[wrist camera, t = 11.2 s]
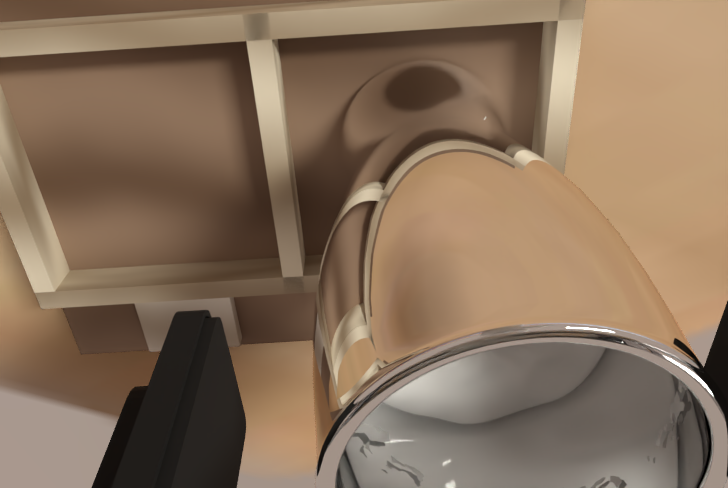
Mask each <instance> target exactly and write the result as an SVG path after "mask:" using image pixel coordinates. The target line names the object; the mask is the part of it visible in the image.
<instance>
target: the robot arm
mask: <svg viewBox="0 0 728 488" xmlns="http://www.w3.org/2000/svg"><path fill="white" fill-rule="evenodd" d="M704 369H705V371H706V372H707V373H708V374H709V375H710V376H711V377H712V378H713V380H714V381H715V382H716V383H717V385H718V386H719V388H720V389H721V391H722V393H723V394H724V396H725V398H726V400H727V402H728V301H727V304H726V307H725V310H724V313H723V315H722V318H721V321H720V324H719V327H718V329H717V332H716V335H715V338H714V341H713V343H712V346H711V349H710V352H709V355H708V358H707V360H706V363H705V366H704ZM245 433H246V419H245V413H244V409H243V405H242V401H241V397H240V393H239V388H238V384H237V380H236V376H235V372H234V368H233V364H232V360H231V356H230V352H229V348H228V344H227V340H226V336H225V332H224V328H223V324H222V320H221V318H220V317H212V316H211V314H210V312H209V310H194V311H178V312H176V313H175V315H174V316H173V319H172V322H171V324H170V327H169V330H168V333H167V336H166V338H165V341H164V344H163V347H162V349H161V352H160V355H159V358H158V360H157V363H156V366H155V369H154V371H153V374H152V377H151V380H150V382H149V385H148V386H140V387H134V388H133V389H132V390H131V391H130V393H129V395H128V397H127V399H126V402H125V404H124V407H123V409H122V412H121V414H120V417H119V419H118V422H117V424H116V427H115V430H114V432H113V435H112V437H111V440H110V442H109V445H108V448H107V450H106V452H105V455H104V457H103V460H102V463H101V465H100V468H99V470H98V473H97V475H96V478H95V480H94V483H93V486H92V488H237V482H238V476H239V470H240V464H241V458H242V452H243V446H244V440H245Z"/></svg>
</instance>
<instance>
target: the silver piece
mask: <svg viewBox="0 0 728 488" xmlns="http://www.w3.org/2000/svg"><path fill="white" fill-rule="evenodd" d="M340 155H341V161H342V164H343V168H344V171H345V173H346V176H347V178H348V180H349V182H350V183H349V185H348V188H347V190H346V192H345V194H344V197H343V199H342V202H341V204H340V207H339V209H338V211H337V214H336V216H335V219H334V221H333V224H332V227H331V230H330V234H329V237H328V240H327V244H326V247H325V251H324V254H323V257H322V261H321V265H320V270H319V278H318V285H317V293H316V301H315V309H314V324H313V393H314V415H315V431H316V453H317V467H316V473H315V488H723V487H724V485H725V483H726V481H727V479H728V402H727V400H726V398H725V396H724V394H723V393H722V391H721V389H720V388H719V386H718V385H717V383H716V382H715V381H714V380H713V378H712V377H711V376H710V375H709V374H708V373H707V372H706V371H705V369H704V367H703V366H702V364H701V363H700V361H699V359H698V358H697V356H696V354H695V353H694V351H693V349H692V348H691V346H690V344H689V342H688V341H687V339H686V337H685V335H684V334H683V332H682V330H681V328H680V327H679V325H678V323H677V321H676V320H675V318H674V316H673V315H672V313H671V311H670V310H669V308H668V306H667V305H666V303H665V302H664V300H663V298H662V297H661V295H660V293H659V292H658V290H657V288H656V287H655V285H654V284H653V282H652V280H651V279H650V277H649V275H648V274H647V272H646V271H645V269H644V268H643V267H642V265H641V264H640V262H639V261H638V259H637V258H636V257H635V255H634V254H633V252H632V251H631V249H630V248H629V247H628V245H627V244H626V242H625V241H624V240H623V238H622V237H621V235H620V234H619V232H618V231H617V230H616V229H615V227H614V226H613V225H612V224H611V223H610V222H609V220H608V219H607V218H606V217H605V216H604V215H603V214H602V212H601V211H600V210H599V209H598V208H597V207H596V206H595V204H594V203H593V202H592V201H591V200H590V199H589V197H588V196H587V195H586V194H585V193H584V192H583V191H582V190H581V189H580V188H579V187H578V186H576V185H575V184H574V183H573V182H572V181H570V180H569V179H568V178H567V177H566V176H564V175H563V174H562V173H561V172H560V171H558V170H557V169H556V168H555V167H553V166H552V165H551V164H550V163H549V162H547V161H546V160H545V159H543V158H542V157H540V156H539V155H537V154H536V153H534V152H533V151H531V150H530V149H528V148H527V147H525V146H524V145H522V144H521V143H519V142H518V141H516V140H514V139H513V138H511V137H509V136H508V135H507V134H506V127H505V122H504V118H503V114H502V111H501V109H500V107H499V104H498V102H497V100H496V99H495V97H494V95H493V94H492V92H491V91H490V89H489V88H488V87H487V86H486V85H485V84H484V83H483V82H482V81H481V80H480V79H479V78H478V77H477V76H475V75H474V74H473V73H471V72H469V71H468V70H466V69H464V68H462V67H460V66H457V65H454V64H451V63H448V62H443V61H437V60H415V61H409V62H404V63H401V64H398V65H395V66H393V67H390V68H388V69H386V70H384V71H382V72H381V73H379V74H378V75H376V76H375V77H373V78H372V79H371V80H370V81H369V82H367V83H366V84H365V85H364V86H363V87H362V88H361V89H360V91H359V92H358V93H357V94H356V96H355V97H354V98H353V100H352V102H351V103H350V105H349V107H348V109H347V111H346V113H345V116H344V119H343V122H342V126H341V131H340Z"/></svg>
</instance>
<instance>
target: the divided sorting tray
mask: <svg viewBox="0 0 728 488" xmlns="http://www.w3.org/2000/svg"><path fill="white" fill-rule="evenodd" d="M585 3H586V0H0V212H1V214H2V216H3V219H4V221H5V224H6V226H7V228H8V231H9V233H10V236H11V238H12V240H13V243H14V245H15V247H16V250H17V252H18V255H19V257H20V259H21V262H22V264H23V266H24V269H25V271H26V274H27V276H28V278H29V281H30V283H31V286H32V288H33V290H34V293H35V295H36V297H37V300H38V302H39V305H40V307H41V309H51V308H63V310H64V313H65V315H66V318H67V320H68V323H69V325H70V328H71V330H72V333H73V335H74V338H75V340H76V343H77V345H78V348H79V350H80V353H81V354H94V353H110V352H127V351H143V350H149V351H150V352H156V351H161V349H162V347H163V344H164V341H165V338H166V336H167V333H168V330H169V327H170V324H171V322H172V319H173V316H174V315H175V313H176V312H178V311H194V310H209V312H210V314H211V316H212V317H220V318H221V320H222V324H223V328H224V332H225V336H226V340H227V344H228V347H238V346H240V345H241V344H258V343H274V342H290V341H307V340H313V324H314V309H315V301H316V293H317V285H318V278H319V270H320V265H321V261H322V257H323V254H324V251H325V247H326V244H327V240H328V237H329V234H330V230H331V227H332V224H333V221H334V219H335V216H336V214H337V211H338V209H339V207H340V204H341V202H342V199H343V197H344V194H345V192H346V190H347V188H348V185H349V183H350V182H349V180H348V178H347V176H346V173H345V171H344V168H343V164H342V161H341V155H340V131H341V126H342V122H343V119H344V116H345V113H346V111H347V109H348V107H349V105H350V103H351V102H352V100H353V98H354V97H355V96H356V94H357V93H358V92H359V91H360V89H361V88H362V87H363V86H364V85H365V84H366V83H367V82H369V81H370V80H371V79H372V78H373V77H375V76H376V75H378V74H379V73H381V72H382V71H384V70H386V69H388V68H390V67H393V66H395V65H398V64H401V63H404V62H409V61H415V60H437V61H443V62H448V63H451V64H454V65H457V66H460V67H462V68H464V69H466V70H468V71H469V72H471V73H473V74H474V75H475V76H477V77H478V78H479V79H480V80H481V81H482V82H483V83H484V84H485V85H486V86H487V87H488V88H489V89H490V91H491V92H492V94H493V95H494V97H495V99H496V100H497V102H498V104H499V107H500V109H501V111H502V114H503V118H504V122H505V127H506V134H507V135H508V136H509V137H511V138H513V139H514V140H516V141H518V142H519V143H521V144H522V145H524V146H525V147H527V148H528V149H530V150H531V151H533V152H534V153H536V154H537V155H539V156H540V157H542V158H543V159H545V160H546V161H547V162H549V163H550V164H551V165H552V166H553V167H555V168H556V169H557V170H558V171H560V172H561V173H562V174H563V175H564V171H565V163H566V155H567V147H568V139H569V131H570V123H571V115H572V107H573V99H574V91H575V83H576V75H577V67H578V59H579V51H580V43H581V35H582V27H583V19H584V11H585Z"/></svg>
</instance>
